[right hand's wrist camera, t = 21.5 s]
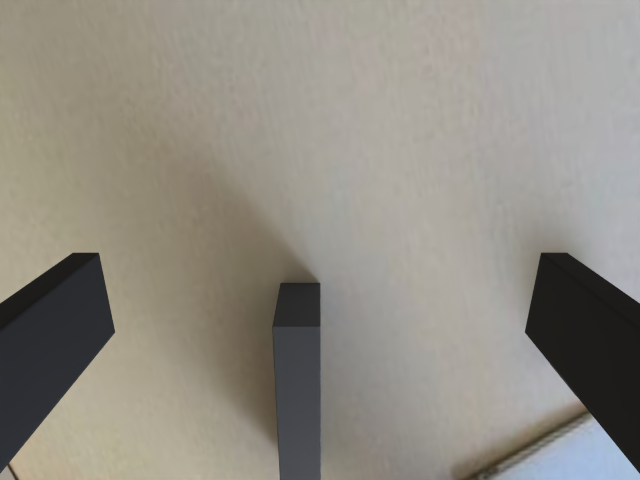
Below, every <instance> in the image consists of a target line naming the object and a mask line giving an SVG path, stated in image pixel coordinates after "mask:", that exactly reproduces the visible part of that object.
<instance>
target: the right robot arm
mask: <svg viewBox="0 0 640 480" xmlns="http://www.w3.org/2000/svg"><path fill="white" fill-rule="evenodd" d="M114 333H115V329H114V324H113V319H112V315H111V310H110V305H109V300H108V295H107V290H106V285H105V280H104V276H103V271H102V266H101V261H100V256H99V253H72V254H71V255H69V256H68V257H66V258H65V259H63V260H62V261H61V262H59V263H58V264H56V265H55V266H53V267H52V268H51V269H49V270H48V271H46V272H45V273H43V274H42V275H40V276H39V277H38V278H36V279H35V280H33V281H32V282H30V283H29V284H28V285H26V286H25V287H23V288H22V289H20V290H19V291H18V292H16V293H15V294H13V295H12V296H10V297H9V298H8V299H6V300H5V301H3V302H2V303H0V473H1V472H2V471H3V469H4V468H5V467H6V466H7V465H8V463H9V462H10V461H11V460H12V458H13V457H14V456H15V455H16V453H17V452H18V451H19V450H20V449H21V447H22V446H23V445H24V444H25V442H26V441H27V440H28V439H29V437H30V436H31V435H32V434H33V433H34V431H35V430H36V429H37V428H38V426H39V425H40V424H41V423H42V422H43V420H44V419H45V418H46V417H47V415H48V414H49V413H50V412H51V410H52V409H53V408H54V407H55V406H56V404H57V403H58V402H59V401H60V399H61V398H62V397H63V396H64V394H65V393H66V392H67V391H68V390H69V388H70V387H71V386H72V385H73V383H74V382H75V381H76V380H77V378H78V377H79V376H80V375H81V374H82V372H83V371H84V370H85V369H86V367H87V366H88V365H89V364H90V363H91V361H92V360H93V359H94V358H95V356H96V355H97V354H98V353H99V351H100V350H101V349H102V348H103V347H104V345H105V344H106V343H107V342H108V340H109V339H110V338H111V337H112V335H113V334H114ZM525 333H526V334H527V335H528V337H529V338H530V339H531V340H532V342H533V343H534V344H535V345H536V347H537V348H538V349H539V350H540V351H541V353H542V354H543V355H544V356H545V358H546V359H547V360H548V361H549V363H550V364H551V365H552V366H553V367H554V369H555V370H556V371H557V372H558V374H559V375H560V376H561V377H562V378H563V380H564V381H565V382H566V383H567V385H568V386H569V387H570V388H571V390H572V391H573V392H574V393H575V394H576V396H577V397H578V398H579V399H580V401H581V402H582V403H583V404H584V406H585V407H586V408H587V409H588V410H589V412H590V413H591V414H592V415H593V417H594V418H595V419H596V420H597V422H598V423H599V424H600V425H601V426H602V428H603V429H604V430H605V431H606V433H607V434H608V435H609V436H610V437H611V439H612V440H613V441H614V442H615V444H616V445H617V446H618V447H619V449H620V450H621V451H622V452H623V453H624V455H625V456H626V457H627V458H628V460H629V461H630V462H631V463H632V465H633V466H634V467H635V468H636V469H637V471H638V472H639V473H640V303H638V302H637V301H635V300H634V299H632V298H631V297H630V296H628V295H627V294H625V293H624V292H622V291H621V290H620V289H618V288H617V287H615V286H614V285H612V284H611V283H610V282H608V281H607V280H605V279H604V278H602V277H601V276H600V275H598V274H597V273H595V272H594V271H592V270H591V269H589V268H588V267H587V266H585V265H584V264H582V263H581V262H579V261H578V260H577V259H575V258H574V257H572V256H571V255H569V254H568V253H541V256H540V261H539V266H538V271H537V276H536V280H535V285H534V290H533V295H532V300H531V305H530V310H529V315H528V319H527V324H526V329H525Z"/></svg>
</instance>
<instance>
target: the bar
mask: <svg viewBox="0 0 640 480" xmlns="http://www.w3.org/2000/svg"><path fill="white" fill-rule="evenodd" d="M273 347H274V368H275V388H276V408H277V428H278V449H279V469H280V480H321V404H320V283H281V285H280V290H279V295H278V300H277V306H276V311H275V316H274V321H273Z"/></svg>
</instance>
